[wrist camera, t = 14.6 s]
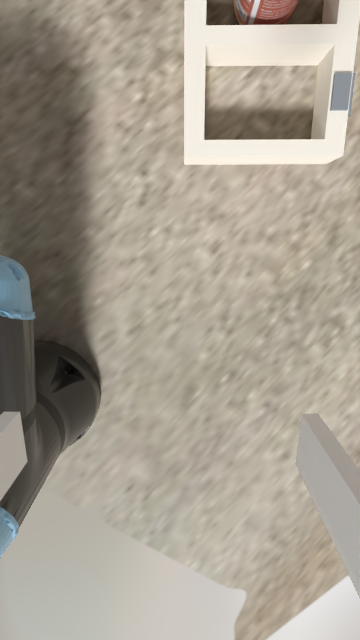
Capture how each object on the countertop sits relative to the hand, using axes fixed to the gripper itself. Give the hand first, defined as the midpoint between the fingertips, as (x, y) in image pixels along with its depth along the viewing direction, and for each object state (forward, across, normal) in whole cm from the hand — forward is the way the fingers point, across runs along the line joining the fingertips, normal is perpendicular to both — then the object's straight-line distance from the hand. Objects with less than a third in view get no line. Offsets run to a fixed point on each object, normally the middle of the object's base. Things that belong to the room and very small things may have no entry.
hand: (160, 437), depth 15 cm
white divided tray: (+27, +9, +27) cm, 39 cm away
